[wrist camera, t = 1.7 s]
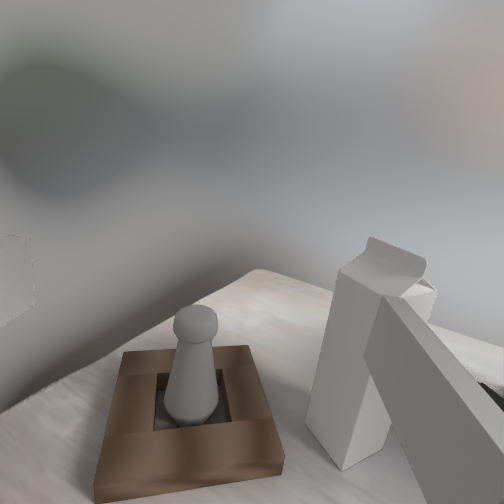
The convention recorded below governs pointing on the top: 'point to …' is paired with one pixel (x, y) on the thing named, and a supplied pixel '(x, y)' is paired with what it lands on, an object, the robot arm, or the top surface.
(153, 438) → the socket block
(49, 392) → the top surface
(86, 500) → the top surface
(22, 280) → the robot arm
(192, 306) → the salt shaker
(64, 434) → the top surface
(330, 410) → the milk
